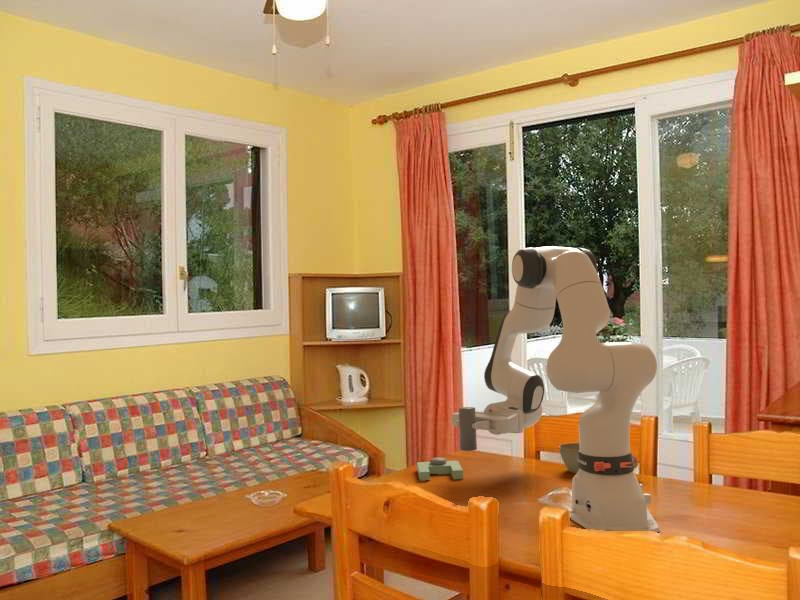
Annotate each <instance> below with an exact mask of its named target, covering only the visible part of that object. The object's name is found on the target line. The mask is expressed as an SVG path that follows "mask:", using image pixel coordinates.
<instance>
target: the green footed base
mask: <svg viewBox="0 0 800 600" xmlns="http://www.w3.org/2000/svg"><path fill="white" fill-rule="evenodd" d="M416 472H417V475H418V479H419V481H420V482H425V481H426V480H429V481H431V475H430V474H438V475H450V476H451V477H452V479H453V480H463V479H464V470H463V467H462V466H461V464H460V462H459V460H447V458H445V457H439V456H437V457H431V458H430V459H429V461H420V462H419V461H418V462H417V461H416ZM426 482H427V481H426Z"/></svg>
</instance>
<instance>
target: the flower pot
mask: <svg viewBox="0 0 800 600" xmlns="http://www.w3.org/2000/svg"><path fill="white" fill-rule="evenodd" d="M558 450H559V453H560V456H561V460H562V462H563V464H564V466H565V467H566V469H567V471H568V472H569V473H572V474H577V472H578V470H579V467H578V461H577V457H578V451H579V450H580V449H579V442H567V443H566V442H565V443H561V444H560V445H559V446H558Z"/></svg>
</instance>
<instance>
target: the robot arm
mask: <svg viewBox="0 0 800 600" xmlns="http://www.w3.org/2000/svg"><path fill="white" fill-rule="evenodd" d="M597 271H598V263H597V259H596V257H595V255H594V253H593V252H592V251H591V250H590V249H586V248H583V247H577V246H576V247H568V246H567V247H565V246H555V245H551V246H540V247H531V246H530V247H525V248H521V249H519V250H517V252H516V253H515V255H513V259H512V262H511V274H512V279H513V280H514V282H515V283H516V284H517V286H516V292H515V296H514V301H513V306H512V309H511V310H508V311H507V312H506V313H505V314H504V315H503V317H502V319H501V322H500V324H499V328H498V329H497V330H498V331H497V335H496V338H495V341H494V345H493V348H492V353H491V356H490V359H489V361H488V363H487V365H486V367H485V369H484V375H483V376H484V377H483V379H484V383H485V386H486V387H487V388H488V389H489V390H491V391H493V392H495V393H497V394H501V395H502V396H504V397H506V400H504V401H498V402H492V403H489V404H488V405H486V406H485V408H484V410H483V411H479V410H477V411H476V410H475V415H476V422H473V423H472V424H471V425H472V429H475V430H476V431H477V430H483V431H488V432H489V433H490V434H493V435H496V436H498V435H502V434H503V435H506V434H521V433H523V432H524V429H527V428H530V427H532V426H534V425H535V424H537V423H538V422H539V421H540V420H541V418H542V415H543V407H542V402H543V400H544V396H545V385H544V380H543V379H542V377H541V376H540V375H539V374H536V373H535V372H533V371H531V370H529V369H526V368H524V367H522V366H520V365H517V364H516V363H514V362H513V360H512V357H511V356H512V352H513V349H514V346H515V342H516V338H517V336H518V335H519V334H534V333H538V332H541V331H543V330H545V329H546V328H548V327H549V326H550V325H551V323H552V322H553V319H554V315H555V309H556V303H557V304H558V305H557V306H558V309H559V313H560V316H561V321H562V336H561V339H560V340H559V343H558V345H557V346H556V347H555V348H554V349H553V350H552V352H551V353H550V354H549V355H548V358H547V361H546V367H545V369H546V375H547V378H548V380H549V383H551V385H552V386H553V387H554V389H556V390H557V391H562V392H567V393H576V394H582V393H595V392H598V395H597V396H598V397H597V399H596V400H595V402H594V403H593V404H592V406H591V407H588V408H587V409H585V410H584V411H583V412H582V413H581V415H580V417H579V420H578V441H579V442H578V443H579V449H580V450H579V451H578V457H577V461H578V467H579V470H578V472H577V473H575V475H574V476H573V477H572V478H571V479H572V480H571V508H568V509H567V510H569V511H570V515H571V520H572V521H573V522H575V523H576V524H578V525H580V526H581V527H583V528H585V529H586V530H587V529H594V530H604V531H655V532H657V533H658V532H660V526H659V524H658V523H657V521H656V519H655V518H654V516H653V515H652V513H651V512H650V510H649V509H648V505H649V506H650V505H651V504H652V503H651V502H652V497H651V494H650V493H643V491H644V485H643V484H642V483H639V481H638V477H637V475H636V474H635V472H634V471H635V468H634V465H633V458H632V455H633V454H632V452H631V447H630V446H631V444H630V443H631V441H630V439H631V438H630V435H631V433H630V432H631V431H630V430H631V429H630V428H631V417H632V412H633V410H634V407H635V404H636V403H637V399H638V398H639V396H640V395H641V393H642V392H643V391H644V390H645V389H646V387H648V386H649V385H650V384H651V383H652V382H653V381H654V379H655V377H656V374H657V370H658V362H657V358H656V356H655V353H654V352H653V350H652V349H651V348H650V347H649V346H648V345H646V344H643V343H642V344H641V343H639V342H631V341H617V342H615V341H614V342H612V341H609V342H599V340H598V338H597V333H599V332H600V331H601V330H603V329H604V328H605V327H606V326H607V325H608V323H609V321H610V319H611V309H610V307H609V304H608V299H607V297H606V293H605V291H604V287H603V284H602V282H601V279H600V276H599V274H598V272H597ZM451 424H452V426H453V427H455V428H459V411H458V412H453V413H452V414H451Z"/></svg>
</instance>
